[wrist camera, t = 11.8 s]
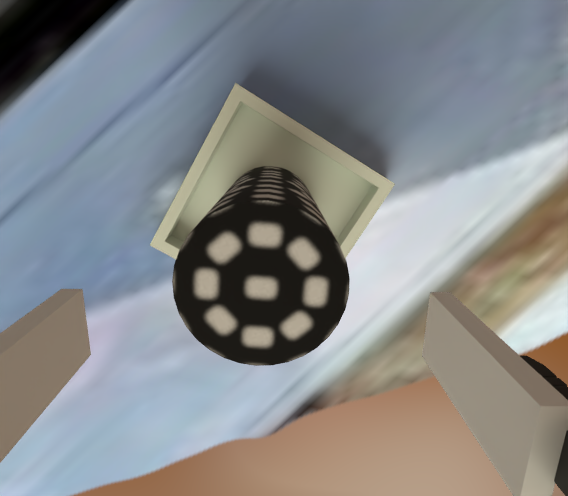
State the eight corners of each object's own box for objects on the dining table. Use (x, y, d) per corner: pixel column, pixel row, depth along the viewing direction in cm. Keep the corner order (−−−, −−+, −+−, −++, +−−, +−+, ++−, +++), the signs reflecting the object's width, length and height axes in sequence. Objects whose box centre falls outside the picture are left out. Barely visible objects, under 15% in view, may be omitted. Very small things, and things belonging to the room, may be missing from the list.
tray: (159, 236, 39) (149, 245, 36) (238, 87, 36) (235, 83, 33) (298, 313, 42) (299, 326, 39) (386, 180, 38) (394, 184, 35)
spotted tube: (317, 169, 37) (360, 207, 18) (308, 255, 39) (338, 370, 20) (227, 162, 37) (173, 192, 18) (223, 248, 39) (171, 359, 20)
